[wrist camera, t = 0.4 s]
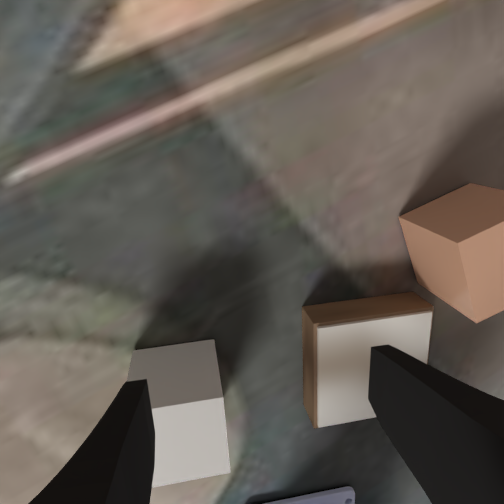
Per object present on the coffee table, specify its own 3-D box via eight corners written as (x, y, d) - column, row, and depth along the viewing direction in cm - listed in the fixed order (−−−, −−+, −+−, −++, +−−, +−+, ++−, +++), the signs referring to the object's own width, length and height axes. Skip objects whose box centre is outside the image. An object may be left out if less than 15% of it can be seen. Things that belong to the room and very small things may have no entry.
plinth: (403, 384, 26) (424, 410, 24) (302, 402, 25) (315, 431, 23) (411, 290, 24) (436, 308, 22) (300, 304, 23) (314, 325, 21)
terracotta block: (484, 251, 24) (559, 283, 19) (417, 283, 24) (476, 323, 19) (470, 182, 22) (548, 200, 17) (398, 216, 22) (457, 243, 17)
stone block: (220, 403, 24) (230, 472, 19) (144, 415, 23) (136, 490, 19) (214, 339, 22) (223, 397, 18) (133, 350, 22) (120, 414, 17)
